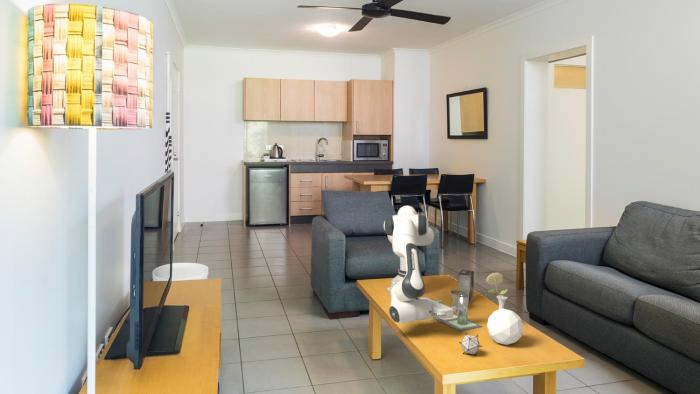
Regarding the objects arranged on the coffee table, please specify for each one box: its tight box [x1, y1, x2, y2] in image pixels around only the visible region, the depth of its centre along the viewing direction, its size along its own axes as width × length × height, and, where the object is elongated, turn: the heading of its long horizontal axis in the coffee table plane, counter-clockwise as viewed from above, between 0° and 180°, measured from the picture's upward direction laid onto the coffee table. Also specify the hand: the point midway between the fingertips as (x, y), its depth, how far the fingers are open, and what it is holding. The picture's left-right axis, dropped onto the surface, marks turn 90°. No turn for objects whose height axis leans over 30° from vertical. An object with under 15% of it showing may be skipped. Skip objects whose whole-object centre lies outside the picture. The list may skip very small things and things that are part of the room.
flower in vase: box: [485, 272, 508, 310], centre depth 237 cm, size 13×11×25 cm
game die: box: [459, 332, 483, 357], centre depth 204 cm, size 9×8×10 cm
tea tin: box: [457, 293, 469, 325], centre depth 237 cm, size 5×5×14 cm
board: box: [431, 312, 483, 332], centre depth 243 cm, size 24×13×1 cm, turn 27°
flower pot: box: [449, 289, 468, 311], centre depth 262 cm, size 9×9×9 cm
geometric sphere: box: [486, 308, 524, 346], centre depth 216 cm, size 14×15×15 cm
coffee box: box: [457, 269, 475, 305], centre depth 275 cm, size 9×6×16 cm
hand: (448, 305), depth 233 cm, fingers open, 8 cm apart
